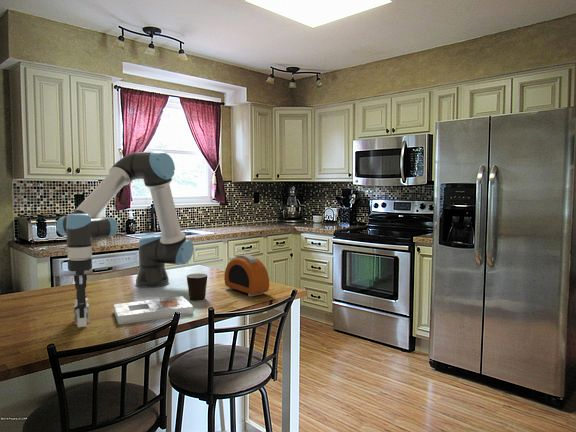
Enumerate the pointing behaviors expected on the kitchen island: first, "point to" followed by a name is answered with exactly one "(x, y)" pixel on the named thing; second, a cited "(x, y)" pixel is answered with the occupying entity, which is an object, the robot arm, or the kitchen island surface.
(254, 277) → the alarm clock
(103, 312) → the kitchen island surface
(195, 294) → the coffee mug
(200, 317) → the kitchen island surface
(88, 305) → the pill bottle
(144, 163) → the robot arm
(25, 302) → the kitchen island surface
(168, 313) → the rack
